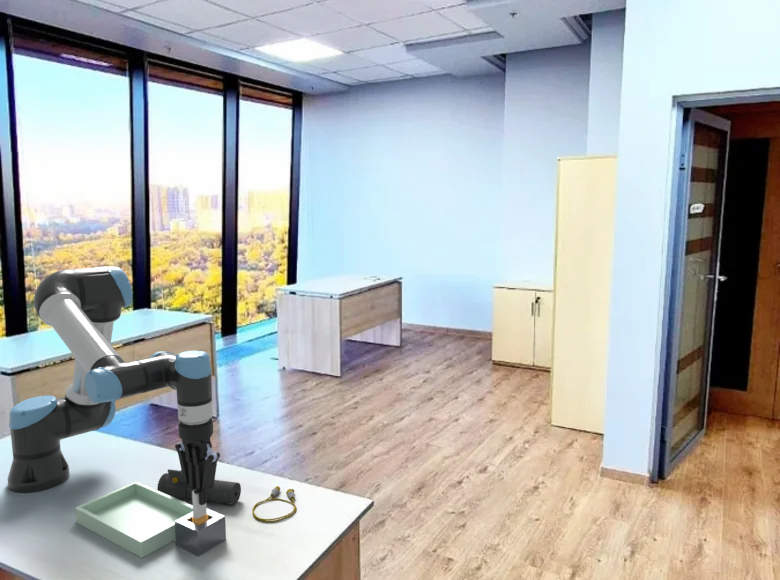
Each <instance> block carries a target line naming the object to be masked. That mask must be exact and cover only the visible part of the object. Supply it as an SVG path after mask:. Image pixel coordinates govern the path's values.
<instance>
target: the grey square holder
mask: <svg viewBox="0 0 780 580" xmlns="http://www.w3.org/2000/svg"><path fill="white" fill-rule="evenodd" d="M207 514H208V521H206V522H204V523H203V524H201V525H199V526H198V525H196V524H194V523H192V516H193V512H191V513H189V514H187V515H185V516H183V517H181V518H180V519H178V520H176V521H175V536H176V539H175V545H176V547H177V546H178V547H180V548H181V549H183V550H185V551H188V552H189V553H191V554H194V555H196V556H197V557H199V556H201V555H203V554H204V553H207V552H208V551H209V550H211V549H214V548H215V547H217V546H218V545H219V544H222V543H223V542H224V541H226V540H227V533H226V532H227V527H226V525H227V523H226V515H224V514H221V513H219V512H217V511H214V510H212V509H210V508H207Z"/></svg>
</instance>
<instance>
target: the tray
mask: <svg viewBox="0 0 780 580" xmlns="http://www.w3.org/2000/svg"><path fill="white" fill-rule="evenodd" d="M191 512H193V504H190V503H189V502H188V503H187V502H186V501H184V500H181V499H176V498H174V497H172V496H170V495H167V494H165V493H163V492H160V491H158V489H156V488H153V487H151V486H148V485H146V484H144V483H142V482H139V481H133V482H132V483H129V484H127V485H124V486H122V487H120V488H117V489H115V490H113V491H111V492H108V493H106V494H104V495H101V496H99V497H97V498H95V499H92V500H89V501H87V502H85V503H83V504H80V505H78V506H76V507H74V514H75V523H77V524H79V525H80V526H82V527H85V528H86V529H88V530H90V531H91V532H93V533H95V534H97V535H99V536H101V537H102V538H104V539H106V540H108V541H110V542H112V543H114V544H115V545H117V546H119V547H121V548H123V549H124V550H126V551H128V552H130V553H132V554H134V555H135V556H138V557H140V558H141V559H143V558H144V557H146V556H148V555H150V554H152V553H154V552H155V551H157V550H159V549H161V548H162V547H164V546H166V545H169V544H170V543H171V542H173V541H176V536H175V521H176V520H178V519H180V518H181V517H183V516H185V515H187V514H189V513H191Z"/></svg>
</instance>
